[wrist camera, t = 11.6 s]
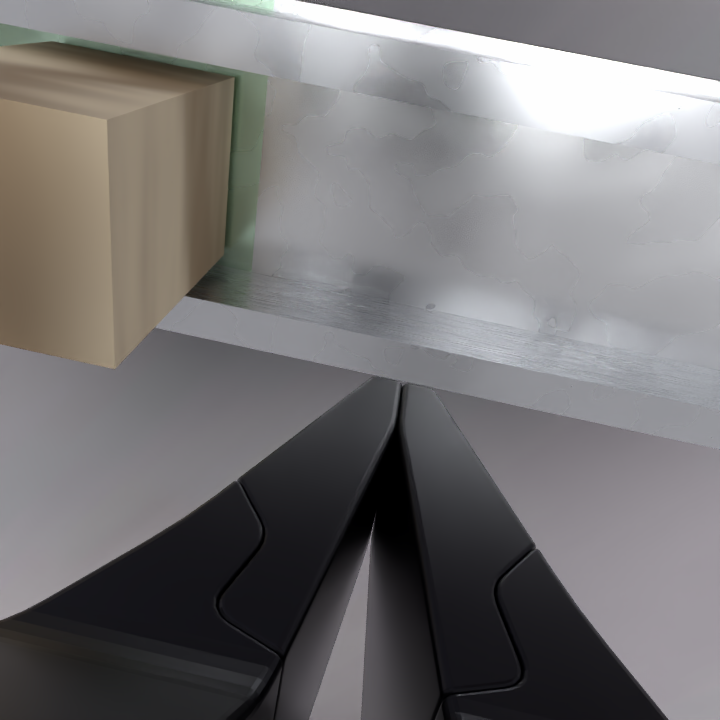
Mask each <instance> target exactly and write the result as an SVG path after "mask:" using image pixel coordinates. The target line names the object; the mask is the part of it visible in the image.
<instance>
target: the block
mask: <svg viewBox="0 0 720 720" xmlns="http://www.w3.org/2000/svg"><path fill="white" fill-rule="evenodd" d="M234 80H235V77H232V76H227V75H222V74H217V73H212V72H207V71H202V70H197V69H192V68H187V67H181V66H176V65H171V64H166V63H161V62H156V61H151V60H146V59H141V58H136V57H131V56H126V55H121V54H116V53H110V52H105V51H100V50H95V49H90V48H85V47H80V46H75V45H70V44H65V43H60V42H55V41H48V42H39V43H29V44H19V45H9V46H0V344H2V345H7V346H11V347H16V348H20V349H25V350H29V351H34V352H39V353H43V354H48V355H52V356H57V357H61V358H66V359H71V360H75V361H80V362H84V363H89V364H93V365H98V366H102V367H107V368H112V369H116V368H117V367H118V366H119V365H120V363H121V362H122V361H123V360H124V359H125V358H126V357H127V356H128V355H129V354H130V353H131V352H132V351H133V350H134V349H135V348H136V347H137V346H138V345H139V343H140V342H141V341H142V340H143V339H144V338H145V337H146V336H147V335H148V334H149V333H150V332H151V331H152V330H153V329H154V328H155V327H156V326H157V325H158V323H159V322H160V321H161V320H162V319H163V318H164V317H165V316H166V315H167V314H168V313H169V312H170V311H171V310H172V309H173V308H174V307H175V306H176V305H177V303H178V302H179V301H180V300H181V299H182V298H183V297H184V296H185V295H186V294H187V293H188V292H189V291H190V290H191V289H192V288H193V287H194V286H195V285H196V283H197V282H198V281H199V280H200V279H201V278H202V277H203V276H204V275H205V274H206V273H207V272H208V271H209V270H210V269H211V268H212V267H213V266H214V265H215V263H216V262H217V261H218V260H219V259H220V258H221V257H222V256H223V255H224V245H225V229H226V212H227V196H228V179H229V162H230V146H231V129H232V113H233V96H234Z"/></svg>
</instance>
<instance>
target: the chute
mask: <svg viewBox="0 0 720 720" xmlns="http://www.w3.org/2000/svg"><path fill="white" fill-rule="evenodd" d="M48 41H55V42H60V43H65V44H70V45H75V46H80V47H85V48H90V49H95V50H100V51H105V52H110V53H116V54H121V55H126V56H131V57H136V58H141V59H146V60H151V61H156V62H161V63H166V64H171V65H176V66H181V67H187V68H192V69H197V70H202V71H207V72H212V73H217V74H222V75H227V76H232V77H235V80H234V96H233V113H232V129H231V146H230V162H229V179H228V196H227V212H226V229H225V245H224V255H223V256H222V257H221V258H220V259H219V260H218V261H217V262H216V263H215V265H214V266H213V267H212V268H211V269H210V270H209V271H208V272H207V273H206V274H205V275H204V276H203V277H202V278H201V279H200V280H199V281H198V282H197V283H196V285H195V286H194V287H193V288H192V289H191V290H190V291H189V292H188V293H187V294H186V295H185V296H184V297H183V298H182V299H181V300H180V301H179V302H178V303H177V305H176V306H175V307H174V308H173V309H172V310H171V311H170V312H169V313H168V314H167V315H166V316H165V317H164V318H163V319H162V320H161V321H160V322H159V323H158V325H157V326H156V327H155V328H158V329H163V330H167V331H172V332H177V333H181V334H186V335H191V336H195V337H200V338H204V339H209V340H214V341H218V342H223V343H228V344H232V345H237V346H242V347H246V348H251V349H255V350H260V351H265V352H269V353H274V354H279V355H283V356H288V357H293V358H297V359H302V360H306V361H311V362H316V363H320V364H325V365H330V366H334V367H339V368H343V369H348V370H353V371H357V372H362V373H367V374H371V375H376V376H381V377H385V378H390V379H394V380H399V381H404V382H408V383H413V384H418V385H422V386H427V387H432V388H436V389H441V390H445V391H450V392H455V393H459V394H464V395H469V396H473V397H478V398H483V399H487V400H492V401H496V402H501V403H506V404H510V405H515V406H520V407H524V408H529V409H533V410H538V411H543V412H547V413H552V414H557V415H561V416H566V417H571V418H575V419H580V420H584V421H589V422H594V423H598V424H603V425H608V426H612V427H617V428H622V429H626V430H631V431H635V432H640V433H645V434H649V435H654V436H659V437H663V438H668V439H673V440H677V441H682V442H686V443H691V444H696V445H700V446H705V447H710V448H714V449H719V450H720V81H718V80H713V79H707V78H702V77H697V76H692V75H686V74H681V73H676V72H671V71H665V70H660V69H655V68H650V67H645V66H639V65H634V64H629V63H624V62H618V61H613V60H608V59H603V58H597V57H592V56H587V55H582V54H576V53H571V52H566V51H561V50H555V49H550V48H545V47H540V46H535V45H529V44H524V43H519V42H514V41H508V40H503V39H498V38H493V37H487V36H482V35H477V34H472V33H466V32H461V31H456V30H451V29H446V28H440V27H435V26H430V25H425V24H419V23H414V22H409V21H404V20H398V19H393V18H388V17H383V16H377V15H372V14H367V13H362V12H357V11H351V10H346V9H341V8H336V7H330V6H325V5H320V4H315V3H309V2H304V1H299V0H0V46H9V45H19V44H29V43H39V42H48Z"/></svg>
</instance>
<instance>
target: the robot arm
mask: <svg viewBox="0 0 720 720" xmlns="http://www.w3.org/2000/svg"><path fill="white" fill-rule="evenodd" d="M374 519H375V520H374ZM373 523H374V525H373ZM372 527H373V532H372V538H371V549H370V565H369V583H368V601H367V619H366V638H365V656H364V674H363V692H362V711H361V720H668V718H667V717H666V716H665V715H664V713H663V712H662V711H661V710H660V709H659V707H658V706H657V705H656V704H655V702H654V701H653V700H652V699H651V698H650V696H649V695H648V694H647V693H646V691H645V690H644V689H643V688H642V686H641V685H640V684H639V683H638V682H637V680H636V679H635V678H634V677H633V675H632V674H631V673H630V672H629V671H628V669H627V668H626V667H625V666H624V664H623V663H622V662H621V661H620V660H619V658H618V657H617V656H616V655H615V653H614V652H613V651H612V650H611V649H610V647H609V646H608V645H607V643H606V642H605V641H604V640H603V638H602V637H601V636H600V634H599V633H598V632H597V631H596V629H595V628H594V627H593V625H592V624H591V623H590V622H589V620H588V619H587V618H586V616H585V615H584V614H583V613H582V611H581V610H580V609H579V607H578V606H577V605H576V603H575V602H574V600H573V599H572V598H571V596H570V595H569V593H568V592H567V590H566V589H565V588H564V586H563V585H562V583H561V582H560V580H559V579H558V578H557V576H556V575H555V573H554V572H553V570H552V569H551V567H550V566H549V564H548V563H547V561H546V560H545V558H544V557H543V555H542V554H541V552H540V551H539V550H538V549H535V548H536V546H535V543H534V542H533V540H532V539H531V537H530V536H529V534H528V533H527V531H526V530H525V528H524V527H523V525H522V524H521V522H520V521H519V519H518V518H517V516H516V514H515V513H514V511H513V510H512V508H511V507H510V505H509V504H508V502H507V501H506V499H505V498H504V496H503V495H502V493H501V492H500V490H499V489H498V487H497V486H496V484H495V483H494V481H493V480H492V478H491V476H490V475H489V473H488V472H487V470H486V469H485V467H484V466H483V464H482V463H481V461H480V460H479V458H478V457H477V455H476V454H475V452H474V451H473V449H472V448H471V446H470V445H469V443H468V441H467V440H466V438H465V437H464V435H463V434H462V432H461V431H460V429H459V428H458V426H457V425H456V423H455V422H454V420H453V419H452V417H451V416H450V414H449V413H448V411H447V410H446V408H445V406H444V405H443V403H442V402H441V400H440V399H439V397H438V396H437V394H436V393H435V391H434V390H433V389H431V388H427V387H423V386H418V385H413V384H405V385H404V386H403V387H402V385H401V383H400V382H398V381H395V380H390V379H386V378H381V377H372V378H370V379H369V380H368V381H366V382H365V383H364V384H363V385H361V386H360V387H359V388H357V389H356V390H355V391H353V392H352V393H351V394H349V395H348V396H347V397H345V398H344V399H343V400H341V401H340V402H339V403H337V404H336V405H335V406H333V407H332V408H331V409H330V410H328V411H327V412H326V413H324V414H323V415H322V416H320V417H319V418H318V419H316V420H315V421H314V422H312V423H311V424H310V425H308V426H307V427H306V428H304V429H303V430H302V431H300V432H299V433H298V434H297V435H295V436H294V437H293V438H291V439H290V440H289V441H287V442H286V443H285V444H283V445H282V446H281V447H279V448H278V449H277V450H275V451H274V452H273V453H271V454H270V455H269V456H267V457H266V458H265V459H264V460H262V461H261V462H260V463H258V464H257V465H256V466H254V467H253V468H252V469H250V470H249V471H248V472H246V473H245V474H244V475H242V476H241V477H240V478H239V479H238V480H237V481H234V482H233V483H231V484H230V485H229V486H227V487H226V488H225V489H223V490H222V491H221V492H220V493H218V494H217V495H216V496H214V497H213V498H211V499H210V500H208V501H207V502H206V503H204V504H203V505H201V506H200V507H198V508H197V509H196V510H194V511H193V512H191V513H190V514H189V515H187V516H186V517H184V518H183V519H181V520H179V521H178V522H176V523H174V524H173V525H171V526H170V527H168V528H166V529H165V530H163V531H162V532H160V533H158V534H157V535H155V536H153V537H152V538H150V539H149V540H147V541H145V542H144V543H142V544H140V545H138V546H137V547H135V548H133V549H131V550H130V551H128V552H126V553H125V554H123V555H121V556H119V557H118V558H116V559H114V560H112V561H111V562H109V563H107V564H106V565H104V566H102V567H100V568H99V569H97V570H95V571H93V572H92V573H90V574H88V575H87V576H85V577H83V578H81V579H80V580H78V581H76V582H74V583H73V584H71V585H69V586H68V587H66V588H64V589H62V590H61V591H59V592H57V593H55V594H54V595H52V596H50V597H49V598H47V599H45V600H43V601H41V602H39V603H38V604H36V605H34V606H32V607H30V608H28V609H26V610H24V611H22V612H19V613H17V614H15V615H13V616H10V617H8V618H6V619H3V620H0V720H309V717H310V714H311V711H312V708H313V705H314V702H315V699H316V696H317V693H318V691H319V688H320V685H321V682H322V679H323V676H324V673H325V670H326V667H327V664H328V661H329V658H330V655H331V652H332V649H333V647H334V644H335V641H336V638H337V635H338V632H339V629H340V626H341V623H342V620H343V617H344V614H345V611H346V608H347V605H348V602H349V600H350V597H351V594H352V591H353V588H354V585H355V582H356V579H357V576H358V573H359V570H360V567H361V564H362V561H363V558H364V556H365V553H366V549H367V546H368V543H369V539H370V536H371V531H372Z"/></svg>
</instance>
